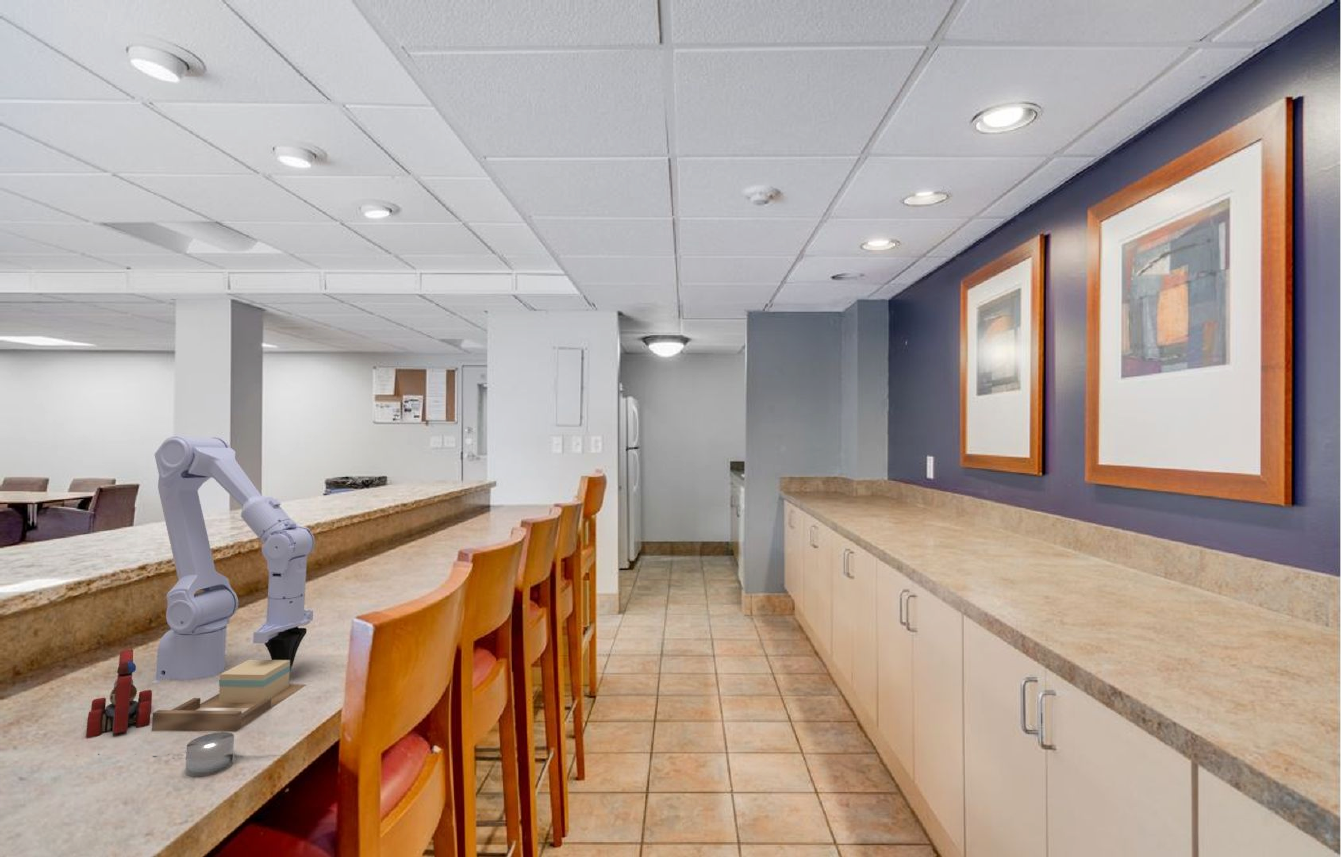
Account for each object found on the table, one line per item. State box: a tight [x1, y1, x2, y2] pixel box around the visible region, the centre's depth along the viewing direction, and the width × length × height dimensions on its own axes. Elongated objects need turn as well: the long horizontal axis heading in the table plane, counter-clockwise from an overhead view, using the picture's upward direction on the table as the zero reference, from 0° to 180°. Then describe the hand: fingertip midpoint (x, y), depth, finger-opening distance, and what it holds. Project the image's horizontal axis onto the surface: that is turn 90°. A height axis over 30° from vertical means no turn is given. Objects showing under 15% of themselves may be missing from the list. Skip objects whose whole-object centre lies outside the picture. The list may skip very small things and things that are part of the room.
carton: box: [218, 659, 291, 703], centre depth 101 cm, size 7×7×4 cm
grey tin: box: [185, 732, 235, 778], centre depth 80 cm, size 5×5×4 cm
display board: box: [151, 683, 307, 733], centre depth 97 cm, size 12×18×4 cm, turn 2°
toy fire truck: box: [85, 648, 153, 739], centre depth 91 cm, size 7×12×10 cm, turn 40°
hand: (282, 672), depth 109 cm, fingers closed
